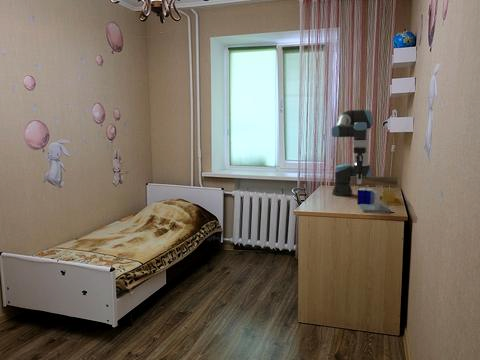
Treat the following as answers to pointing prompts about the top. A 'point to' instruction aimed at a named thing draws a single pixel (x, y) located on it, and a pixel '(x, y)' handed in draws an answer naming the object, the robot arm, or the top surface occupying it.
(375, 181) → the walnut batten
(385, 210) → the slate base
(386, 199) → the dollhouse swing
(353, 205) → the top surface
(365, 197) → the puzzle cube
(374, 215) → the top surface
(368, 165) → the robot arm
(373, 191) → the steel ridge
